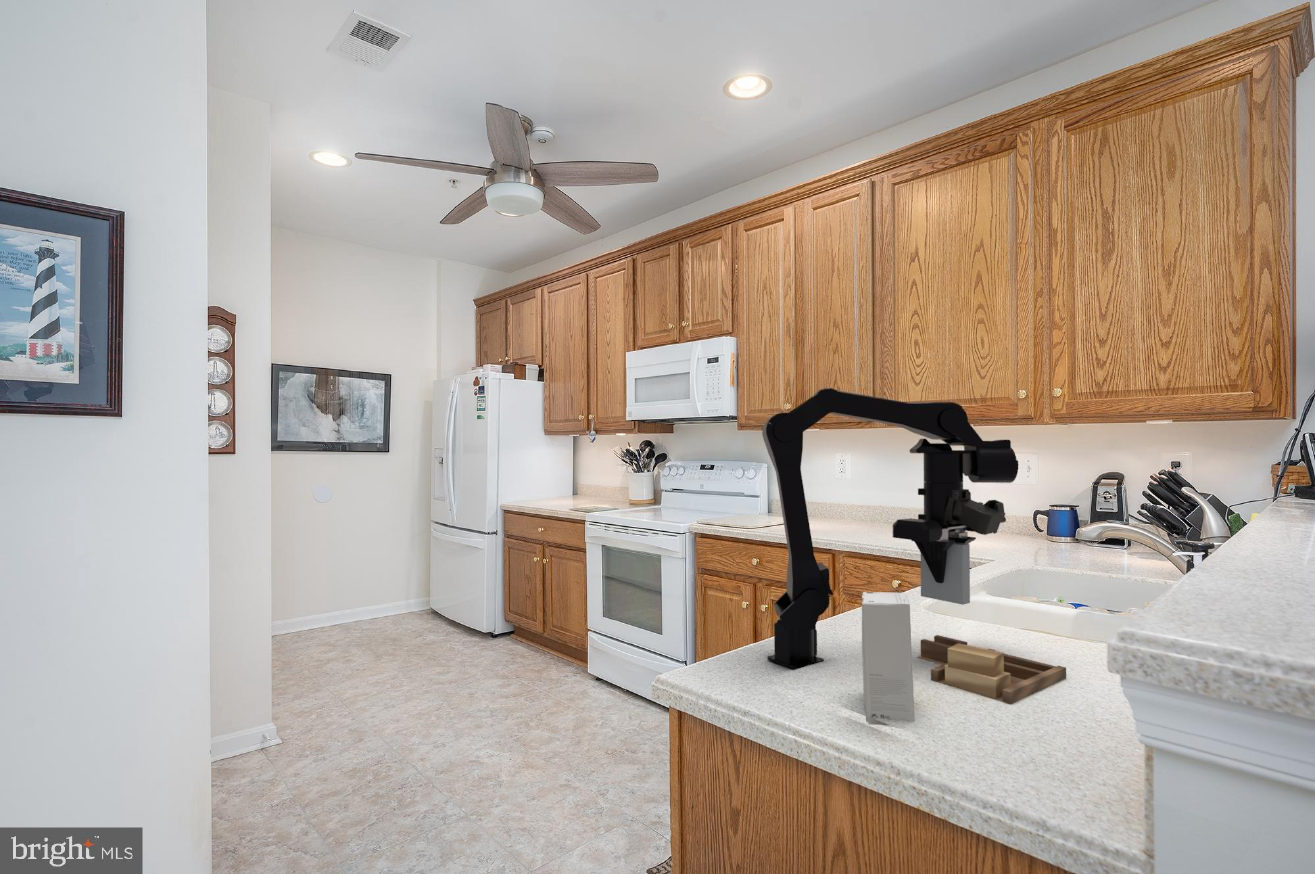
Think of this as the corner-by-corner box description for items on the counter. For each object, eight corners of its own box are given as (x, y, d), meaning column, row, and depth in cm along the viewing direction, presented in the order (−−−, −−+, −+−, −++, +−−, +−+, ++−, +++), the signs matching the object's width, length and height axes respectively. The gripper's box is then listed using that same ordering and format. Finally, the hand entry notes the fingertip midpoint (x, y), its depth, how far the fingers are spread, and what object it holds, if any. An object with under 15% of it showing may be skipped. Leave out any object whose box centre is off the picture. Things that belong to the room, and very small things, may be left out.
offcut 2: (995, 698, 85) (995, 679, 85) (945, 683, 90) (944, 665, 90) (1010, 691, 87) (1010, 673, 87) (960, 677, 93) (960, 659, 93)
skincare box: (915, 730, 78) (913, 605, 78) (862, 723, 79) (861, 601, 80) (910, 704, 86) (909, 590, 86) (862, 698, 87) (861, 588, 88)
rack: (1010, 711, 83) (1010, 691, 83) (931, 686, 92) (930, 668, 92) (1066, 685, 92) (1066, 667, 92) (989, 664, 101) (988, 648, 101)
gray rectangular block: (962, 604, 98) (962, 545, 98) (920, 596, 104) (920, 539, 104) (969, 602, 99) (969, 544, 100) (928, 594, 105) (927, 538, 105)
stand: (946, 672, 98) (946, 648, 98) (916, 663, 102) (916, 641, 102) (971, 663, 102) (971, 640, 102) (941, 655, 106) (941, 633, 106)
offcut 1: (994, 677, 85) (993, 658, 85) (947, 666, 90) (947, 648, 90) (1003, 670, 88) (1003, 652, 88) (958, 660, 92) (958, 643, 92)
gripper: (959, 486, 90) (960, 599, 90) (1025, 483, 101) (1026, 583, 101) (890, 483, 99) (890, 585, 99) (957, 480, 110) (957, 572, 110)
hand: (943, 581), depth 102 cm, fingers closed on gray rectangular block, 2 cm apart
